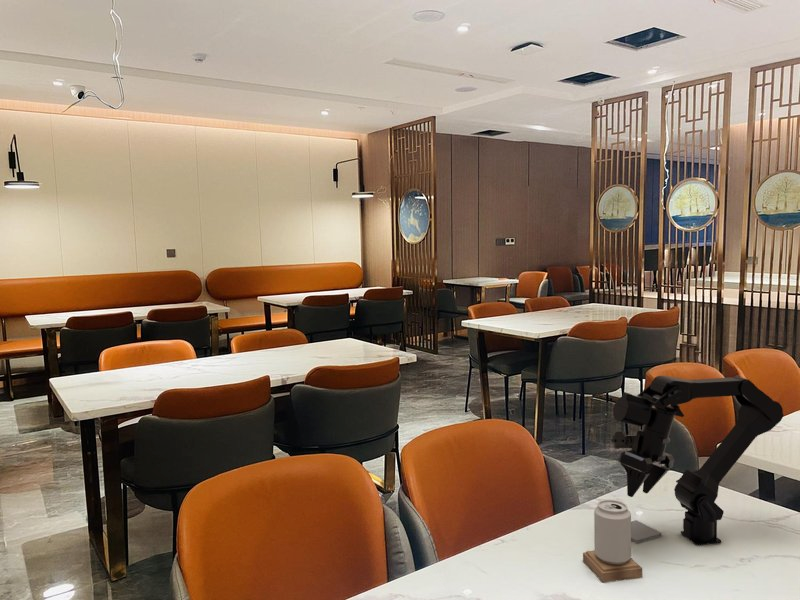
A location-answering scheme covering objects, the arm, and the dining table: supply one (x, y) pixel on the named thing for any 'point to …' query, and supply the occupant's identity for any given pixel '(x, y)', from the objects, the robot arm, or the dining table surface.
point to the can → (612, 531)
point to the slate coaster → (642, 532)
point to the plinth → (611, 568)
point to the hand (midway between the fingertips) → (637, 494)
